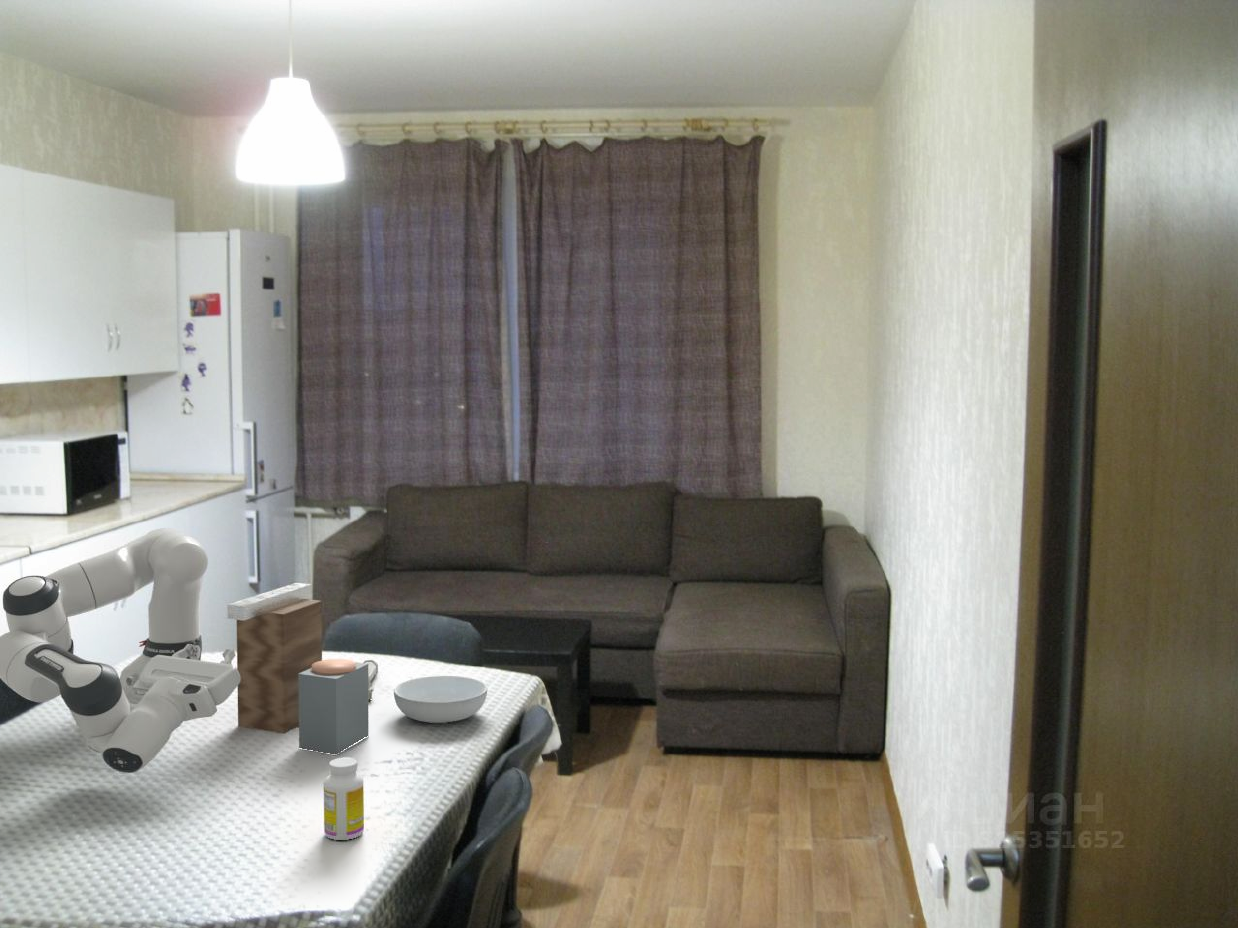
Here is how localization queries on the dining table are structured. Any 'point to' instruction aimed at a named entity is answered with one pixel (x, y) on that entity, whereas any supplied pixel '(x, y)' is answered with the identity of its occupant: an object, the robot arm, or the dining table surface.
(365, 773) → the dining table surface
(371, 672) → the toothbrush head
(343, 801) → the supplement bottle
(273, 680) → the stand
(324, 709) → the low block
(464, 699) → the serving bowl
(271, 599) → the white bar
